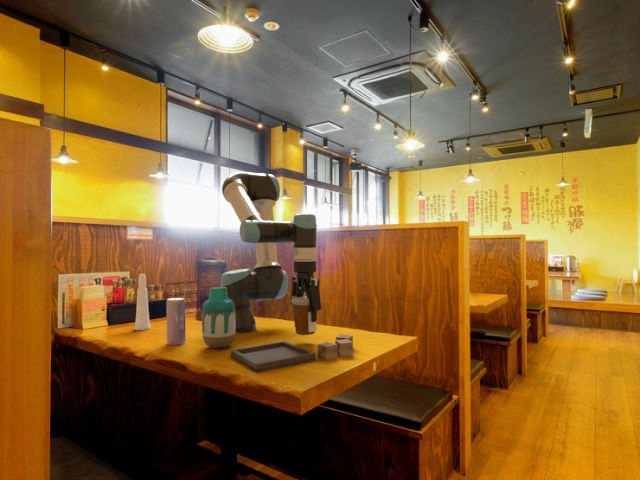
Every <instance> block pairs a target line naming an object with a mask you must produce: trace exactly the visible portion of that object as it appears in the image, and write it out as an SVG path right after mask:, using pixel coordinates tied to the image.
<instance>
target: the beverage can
mask: <svg viewBox="0 0 640 480" xmlns="http://www.w3.org/2000/svg"><path fill="white" fill-rule="evenodd" d="M186 328H187V327H186V299H185V298H184V297H171V298H167V299H166V344H167V345H168V346H179V345H183V344H185V342H186V341H187V339H186V332H187V331H186Z"/></svg>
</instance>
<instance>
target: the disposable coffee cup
mask: <svg viewBox="0 0 640 480" xmlns="http://www.w3.org/2000/svg"><path fill="white" fill-rule="evenodd" d="M291 302H292V305H291V306H292V313H293V319H294V320H293V322H294V328H295V330H294V331H295V334H296V335H300V336H309V335H313V334H316V331H315V332H308V311H309V310H310V309H309V299H307V296H306V294H304V295H303V296H302V297H296V296H293V297H292V300H291V299H290V303H291ZM317 307H318V306H317ZM312 308H313V307H312Z"/></svg>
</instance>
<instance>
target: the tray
mask: <svg viewBox="0 0 640 480" xmlns="http://www.w3.org/2000/svg"><path fill="white" fill-rule="evenodd" d="M316 353H317V352H315V351H314V352H313V351H312V350H309V349H306V348H303V347H301V346H299V345H295V344H293V343H292V342H289V341H286V340H283V341H276V342H270V343H264V344H258V345H257V344H256V345H253V346H245V347H239V348H235V349H233V348H232V349H231V350H230V357H231V358H232V359H234V360H235V361H237V362H239V363H240V364H243V366H246V367H247V368H249V369H250V370H252V371H254V372H255V373H261V372H265V371H271V370H276V369H280V368H284V367H289V366H294V365H295V366H296V365H300V364H304V363H309V362H310V363H311V362H315V361H316V359H317V357H316V356H317V355H316Z"/></svg>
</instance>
